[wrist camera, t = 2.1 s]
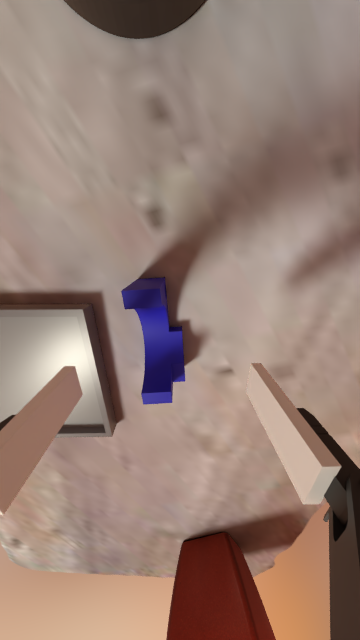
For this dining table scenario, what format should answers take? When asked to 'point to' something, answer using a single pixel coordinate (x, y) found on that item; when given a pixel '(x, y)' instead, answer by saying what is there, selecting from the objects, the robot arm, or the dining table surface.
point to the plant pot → (216, 594)
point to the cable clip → (156, 339)
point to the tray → (54, 362)
